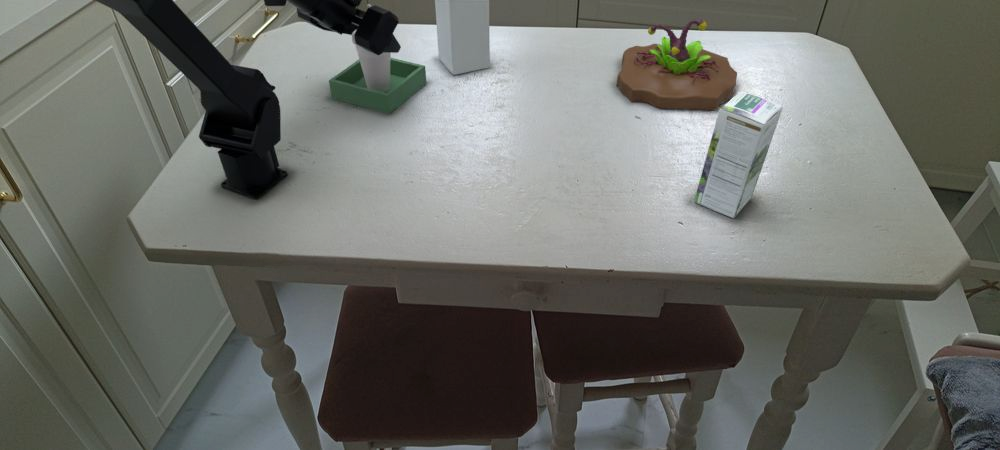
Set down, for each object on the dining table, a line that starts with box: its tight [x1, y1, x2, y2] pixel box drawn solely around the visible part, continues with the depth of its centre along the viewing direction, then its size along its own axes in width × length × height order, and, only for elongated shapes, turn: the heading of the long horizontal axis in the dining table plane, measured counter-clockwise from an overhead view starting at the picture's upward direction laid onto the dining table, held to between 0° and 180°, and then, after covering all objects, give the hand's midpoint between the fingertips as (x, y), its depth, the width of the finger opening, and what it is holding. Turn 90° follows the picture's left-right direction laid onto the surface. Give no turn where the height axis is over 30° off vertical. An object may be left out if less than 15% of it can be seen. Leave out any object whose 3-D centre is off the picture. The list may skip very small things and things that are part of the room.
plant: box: [616, 18, 738, 111], centre depth 107 cm, size 20×20×11 cm
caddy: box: [328, 57, 427, 115], centre depth 107 cm, size 11×11×3 cm
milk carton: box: [434, 0, 491, 76], centre depth 110 cm, size 7×7×19 cm
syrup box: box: [693, 91, 784, 219], centre depth 81 cm, size 6×6×14 cm
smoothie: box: [351, 3, 391, 93], centre depth 103 cm, size 6×6×14 cm
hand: (380, 41), depth 104 cm, fingers open, 8 cm apart
